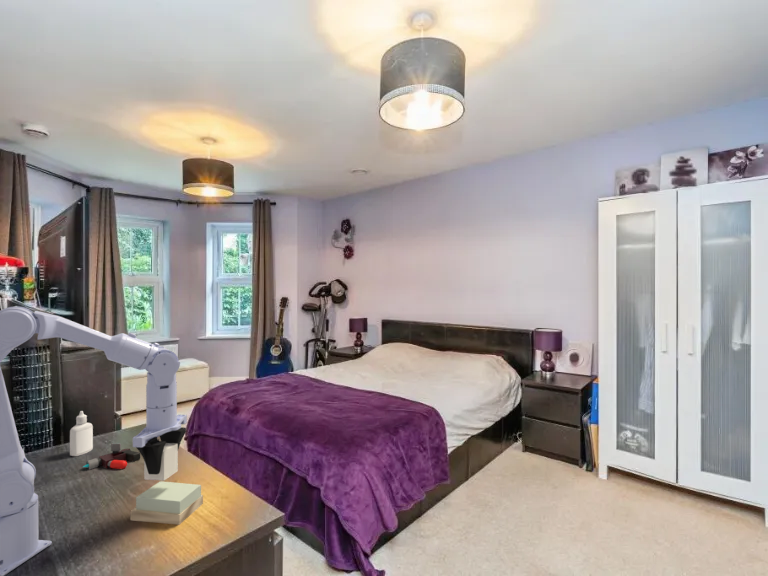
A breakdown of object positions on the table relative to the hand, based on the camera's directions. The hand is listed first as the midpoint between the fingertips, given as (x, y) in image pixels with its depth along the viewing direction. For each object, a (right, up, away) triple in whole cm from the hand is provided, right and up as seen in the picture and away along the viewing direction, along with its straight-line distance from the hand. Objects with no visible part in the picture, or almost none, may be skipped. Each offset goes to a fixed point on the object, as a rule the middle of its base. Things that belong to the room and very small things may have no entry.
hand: (162, 468), depth 87 cm
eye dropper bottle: (-40, -9, +30) cm, 51 cm away
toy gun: (-25, -10, +22) cm, 35 cm away
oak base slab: (+2, -10, -1) cm, 10 cm away
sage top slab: (+2, -7, -1) cm, 7 cm away
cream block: (0, -2, 0) cm, 2 cm away
